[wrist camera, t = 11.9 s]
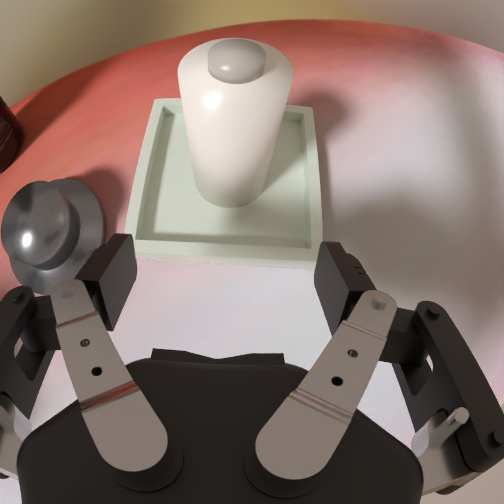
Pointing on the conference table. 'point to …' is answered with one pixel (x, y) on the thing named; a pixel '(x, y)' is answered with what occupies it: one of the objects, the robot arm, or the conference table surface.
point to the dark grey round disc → (51, 232)
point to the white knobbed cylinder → (233, 115)
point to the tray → (226, 219)
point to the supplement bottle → (9, 135)
